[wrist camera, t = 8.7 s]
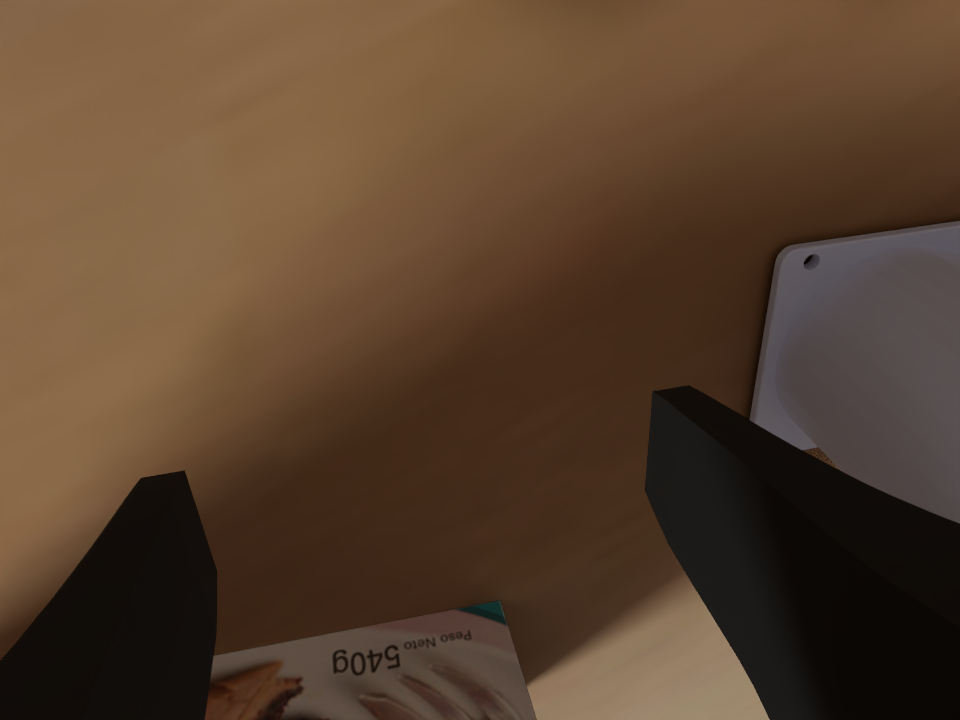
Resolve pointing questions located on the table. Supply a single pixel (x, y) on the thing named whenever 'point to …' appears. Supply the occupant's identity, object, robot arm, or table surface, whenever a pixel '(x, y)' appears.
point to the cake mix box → (380, 673)
